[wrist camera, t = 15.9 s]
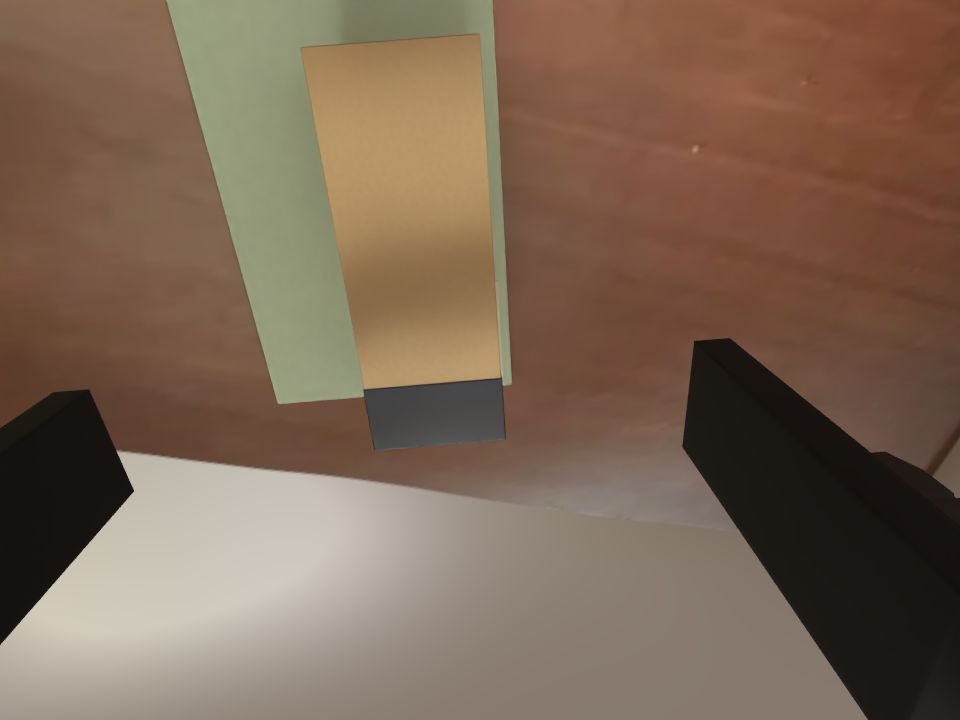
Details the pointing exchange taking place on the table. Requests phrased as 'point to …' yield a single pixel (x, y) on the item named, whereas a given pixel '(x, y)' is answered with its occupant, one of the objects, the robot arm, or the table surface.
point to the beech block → (413, 232)
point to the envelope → (306, 165)
